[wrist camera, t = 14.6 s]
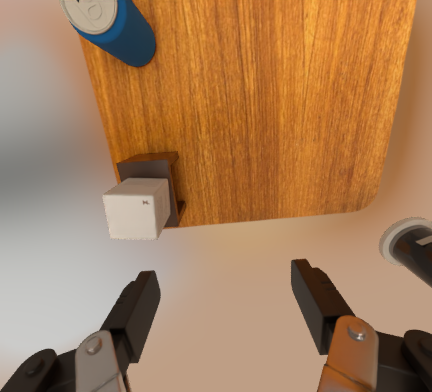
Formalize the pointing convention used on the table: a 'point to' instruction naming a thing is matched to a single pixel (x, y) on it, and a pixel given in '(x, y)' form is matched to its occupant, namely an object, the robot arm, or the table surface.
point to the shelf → (155, 168)
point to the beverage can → (113, 28)
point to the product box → (137, 208)
